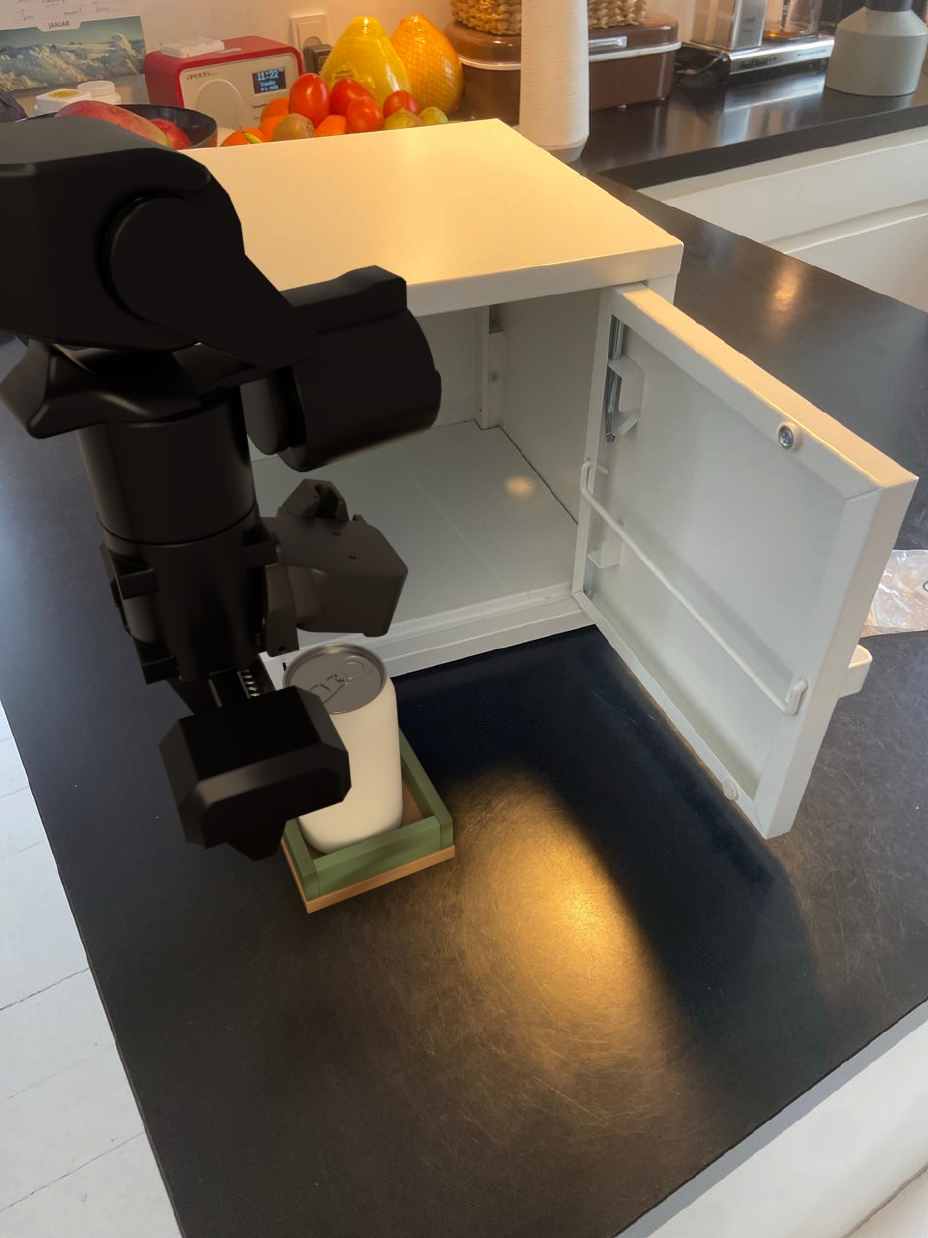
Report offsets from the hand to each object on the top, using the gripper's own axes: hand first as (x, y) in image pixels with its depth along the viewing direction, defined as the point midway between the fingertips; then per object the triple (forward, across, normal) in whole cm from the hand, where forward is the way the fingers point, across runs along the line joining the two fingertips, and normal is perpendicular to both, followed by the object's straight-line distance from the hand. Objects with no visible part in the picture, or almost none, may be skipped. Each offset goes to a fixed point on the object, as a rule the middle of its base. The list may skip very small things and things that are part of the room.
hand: (237, 784), depth 44 cm
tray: (+13, +5, -7) cm, 15 cm away
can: (+12, +5, -7) cm, 14 cm away
